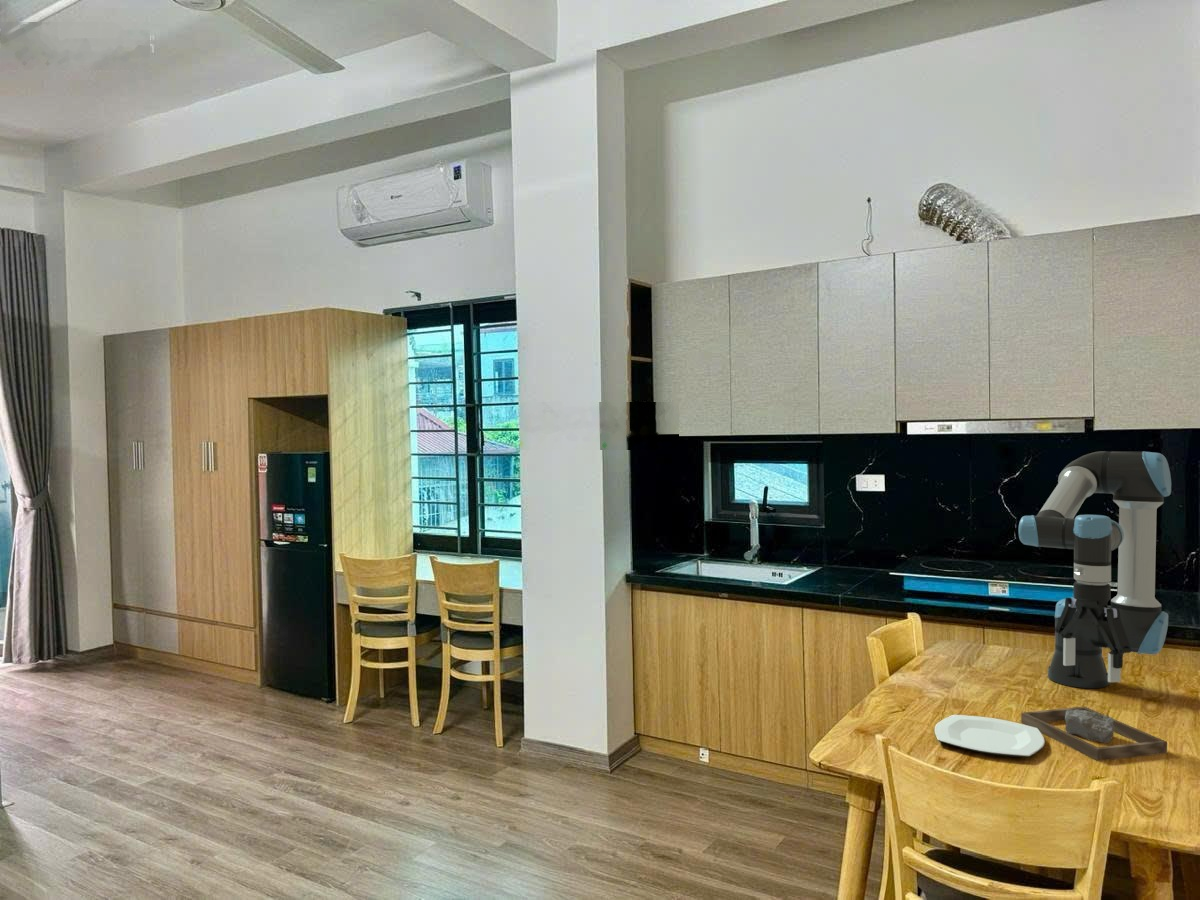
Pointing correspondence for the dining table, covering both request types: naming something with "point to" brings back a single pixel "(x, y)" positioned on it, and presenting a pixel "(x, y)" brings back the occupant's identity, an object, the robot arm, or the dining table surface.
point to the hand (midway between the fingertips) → (1090, 673)
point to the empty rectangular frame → (1144, 747)
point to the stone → (1089, 725)
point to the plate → (989, 735)
